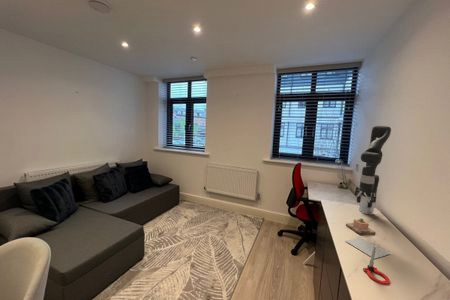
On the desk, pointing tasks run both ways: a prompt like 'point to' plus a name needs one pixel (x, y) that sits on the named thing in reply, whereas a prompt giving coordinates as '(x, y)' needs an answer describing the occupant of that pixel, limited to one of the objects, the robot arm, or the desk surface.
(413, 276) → the desk surface
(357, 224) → the collar
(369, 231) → the post stand
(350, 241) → the grey flat panel
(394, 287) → the desk surface
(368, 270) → the tow hook
